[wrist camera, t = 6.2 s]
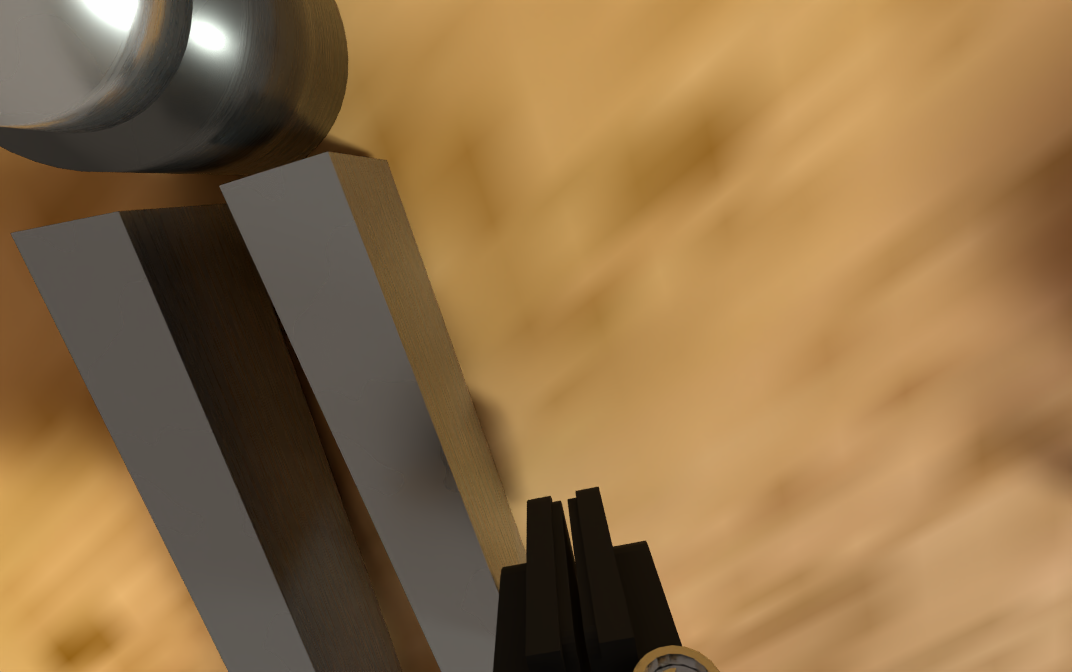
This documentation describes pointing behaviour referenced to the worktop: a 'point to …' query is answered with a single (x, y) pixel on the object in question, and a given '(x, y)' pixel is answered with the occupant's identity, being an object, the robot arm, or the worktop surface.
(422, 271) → the tong arm
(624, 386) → the worktop surface
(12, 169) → the worktop surface
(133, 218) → the base
